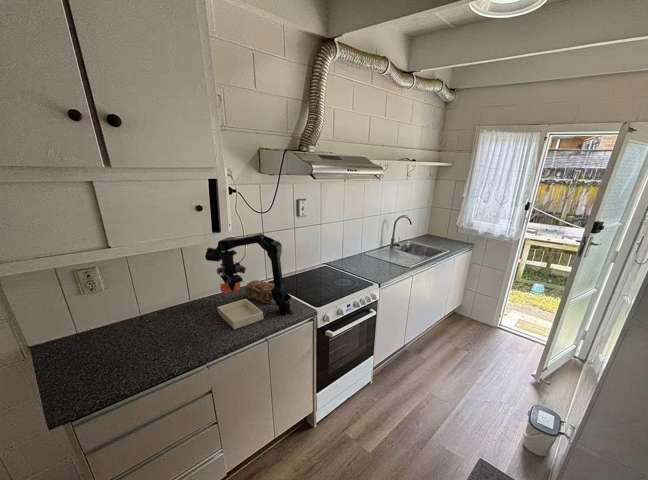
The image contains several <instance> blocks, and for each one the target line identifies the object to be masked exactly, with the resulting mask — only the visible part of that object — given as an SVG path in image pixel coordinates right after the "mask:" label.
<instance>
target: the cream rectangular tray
mask: <svg viewBox="0 0 648 480" xmlns="http://www.w3.org/2000/svg"><path fill="white" fill-rule="evenodd" d="M217 313H218V315H219V316H220V317H221V318H222V319H223V320H224V321H225V322H226V323H227V324H228V325H229V326H230V327H231V328H232V329H233V330H236V329H240V328H242V327H245V326H248V325H250V324H253V323H256V322H259V321H262V320H264V312H263V311H262V310H261V309H260V308H259V307H257V306H256V305H255V304H254V303H252V302H251V301H250V300H249V299H248V298H244V299H240V300H237V301H233V302H229V303H227V304H223V305H220V306H217Z"/></svg>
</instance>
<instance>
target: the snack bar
mask: <svg viewBox="0 0 648 480" xmlns="http://www.w3.org/2000/svg"><path fill="white" fill-rule="evenodd" d="M219 286H220V292H221V293H223V294H228V293H232V292H235V291H239V290H241V289H242V288H241V282H238V283H236V284H235V288H234V291H231V289H230V287H229V285H228V283H224V282H223V283H220V284H219Z"/></svg>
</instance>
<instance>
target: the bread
mask: <svg viewBox="0 0 648 480" xmlns="http://www.w3.org/2000/svg"><path fill="white" fill-rule="evenodd" d="M273 287H274V283H271V282H266V281H261V280H251V281H249V282H248V283H247V284H246V285H245V295H246V297H247V299H251V300H253V301H254V300H255V301H258V302H261V303H265V304H270V305H273V304H276V302H275V301H274V300H273V297H271V296H272V293H271V289H272V288H273Z"/></svg>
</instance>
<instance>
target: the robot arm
mask: <svg viewBox="0 0 648 480" xmlns="http://www.w3.org/2000/svg"><path fill="white" fill-rule="evenodd" d="M225 238H226V239H224V238H222V239H220V240H219V241H218V242H217V246H216V247H215V248H214V247H207V248H206V252H205V255H204V257H205V260H206V261H209V262H220V261H221V263H220V266H221V267H217V269H216V273H217V275H219V277H220V278H221V279H222V281H223V283H228V285H229V287H230V289H231V291H232V292H235V291H234V288H235V284H236V283H238V282H240V283H241V282H243V279H244V278H243V276H241V275H239V274H238V273H240V274H245V272H246V269H247V268H246V267H245V266H244V265H241V263H240V262H238V261H235V260H234V259H235V258H234V256H236V255H237V254H238V252H237V251H236V250H234V248H235V249H236V248H238V247H243V246H248V245H253V244H257V245H259V246H260V248H261V249H263V250H264V251H266V253H267V256H268V258H269V260H270V264H271V272H272V280H273V284H274V287H273V288H272V289H271V293H272V296H271V297H273V300H274V301H275V304H276V306H277V307H278V310H277V311H276V313H277V314H279V315H280V316H281V317H284V316H287V315H291V314H293V311H292V310H291V306H290V304H291V303H290V301H291V300H292V295H290V294H289V293H288V291H287V288H286V286H285V284H284V280H283V271H282V263H281V256H282V250H283V245H282V243H281V242H280V241H278V240H275V239H273V238H272V237H269V236H267V235H265V234H263V233H257V234H252V235H247V236H242V237H231V236H230V237H229V236H228V238H227V237H225Z"/></svg>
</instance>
